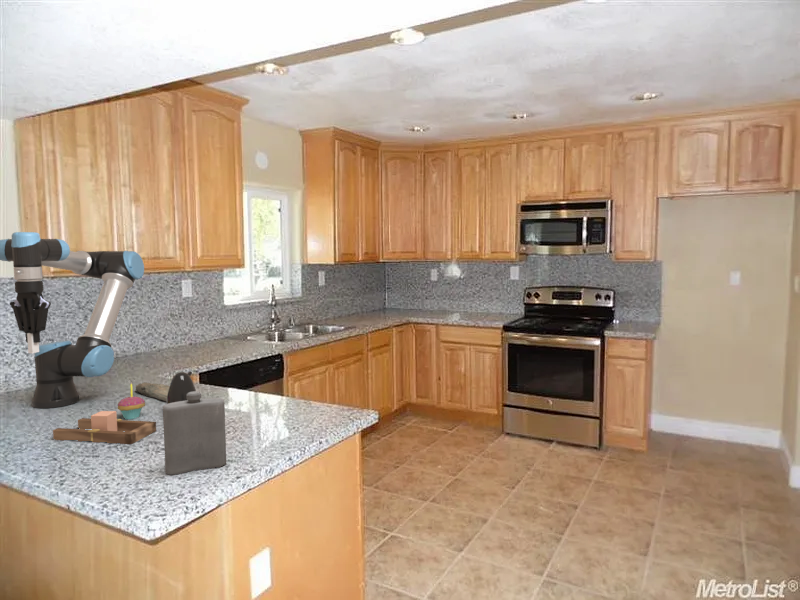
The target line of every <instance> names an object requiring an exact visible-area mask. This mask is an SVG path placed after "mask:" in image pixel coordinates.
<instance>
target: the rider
mask: <svg viewBox="0 0 800 600" xmlns="http://www.w3.org/2000/svg"><path fill="white" fill-rule="evenodd" d="M117 415H118V414H117V411H116V410H114V411H113V410H111V411H110V410H100V411H98V412H96V413H94V414H91V415H90V419H91V428H92V429H100V430H104V431H117V419H118V418H117V417H118V416H117Z"/></svg>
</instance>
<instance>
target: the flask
mask: <svg viewBox="0 0 800 600" xmlns="http://www.w3.org/2000/svg"><path fill="white" fill-rule="evenodd" d="M186 397H187V400H186V401H179V402H173V403H169V404H166V403H165V404H164V405H163V406H162V419H163V421H162V422H163V441H164V442H163V443H164V445H163V447H164V467H165V469H164V470H165V473H166V474H167V475H169V476H174V475H175V474H177V475H181V474H184V472H185V473H188V471H189V472H193V470H195V471H200V470H199V469H201V470H207V469H206V468H209V469H216V468H215V467H219V468H222V467H224V466H225V465H226V464H227V446H226V445H227V443H226V442H227V440H226V439H227V438H226V437H227V436H226V412H225V411H226V410H225V407H226V406H225V399H223V398H221V397H207V398H202V392H200V391H199V390H196V391H193V392H189V393H188V394H187V395H186ZM223 465H224V466H223ZM221 466H222V467H221ZM180 473H181V474H180ZM175 476H176V475H175Z"/></svg>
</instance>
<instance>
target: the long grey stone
mask: <svg viewBox="0 0 800 600" xmlns="http://www.w3.org/2000/svg"><path fill="white" fill-rule="evenodd" d="M169 386H170V385H166V384H161V383H152V382H151V383H150V382H142V383H138V384H136V385H135V391H136V392H139V394H141V395H143V396H144V395H146V396H145V397H149V398H153V399H157V400H159V401H164V402H166V403H167V395H168V390H169Z"/></svg>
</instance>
